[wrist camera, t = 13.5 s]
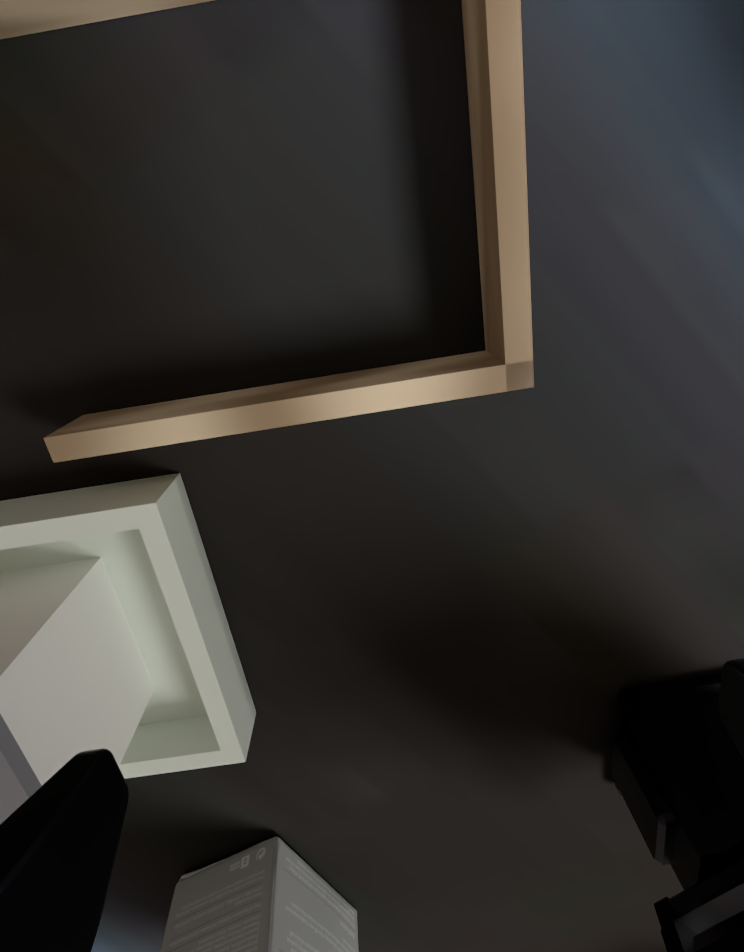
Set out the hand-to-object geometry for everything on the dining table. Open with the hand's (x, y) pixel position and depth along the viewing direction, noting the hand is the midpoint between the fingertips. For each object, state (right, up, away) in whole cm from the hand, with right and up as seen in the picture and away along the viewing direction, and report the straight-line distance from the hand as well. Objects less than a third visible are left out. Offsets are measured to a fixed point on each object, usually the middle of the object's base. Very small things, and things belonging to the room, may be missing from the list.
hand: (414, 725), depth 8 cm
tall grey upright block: (-12, -3, +13) cm, 18 cm away
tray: (-12, -2, +14) cm, 19 cm away
